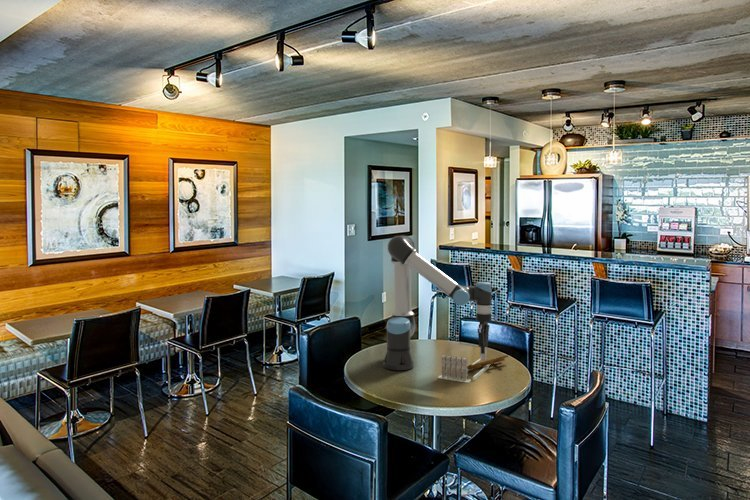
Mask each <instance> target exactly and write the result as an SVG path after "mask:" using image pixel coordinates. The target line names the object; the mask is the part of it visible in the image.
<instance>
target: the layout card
mask: <svg viewBox="0 0 750 500" xmlns="http://www.w3.org/2000/svg"><path fill="white" fill-rule="evenodd" d="M436 378H437V379H441V380H447V381H454V382H461V383H468V384H469V383H471V381H472V379H470V378H467V380H466V381H464V380H463V377H462V379H461V380H458V379H457V378H456V379H452V377H451V378H447V375H446V377H445V378H444V377H442V374H441V375H440V374H439V376H437V377H436Z"/></svg>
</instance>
